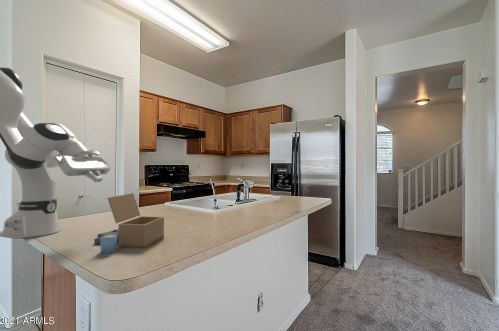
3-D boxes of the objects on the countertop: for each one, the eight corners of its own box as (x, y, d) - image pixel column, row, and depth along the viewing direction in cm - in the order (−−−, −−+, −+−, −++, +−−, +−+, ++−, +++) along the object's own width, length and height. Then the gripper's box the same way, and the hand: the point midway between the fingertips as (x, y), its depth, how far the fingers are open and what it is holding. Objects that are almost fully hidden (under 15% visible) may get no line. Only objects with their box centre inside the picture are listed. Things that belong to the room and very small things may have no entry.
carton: (118, 246, 89) (118, 224, 89) (141, 235, 103) (141, 216, 103) (144, 247, 88) (144, 224, 88) (163, 236, 102) (163, 216, 102)
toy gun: (118, 225, 116) (149, 222, 115) (118, 232, 116) (150, 229, 115) (77, 240, 90) (117, 237, 90) (78, 249, 90) (118, 246, 90)
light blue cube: (97, 253, 82) (97, 238, 82) (107, 248, 87) (107, 234, 87) (110, 254, 82) (110, 238, 82) (120, 249, 86) (120, 234, 86)
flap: (117, 223, 89) (115, 223, 89) (140, 215, 103) (139, 215, 104) (108, 197, 90) (107, 198, 90) (133, 193, 104) (131, 193, 104)
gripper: (57, 148, 89) (82, 176, 87) (100, 151, 109) (121, 174, 107) (47, 161, 89) (71, 188, 88) (91, 162, 110) (111, 184, 108)
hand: (99, 180), depth 98 cm, fingers closed
